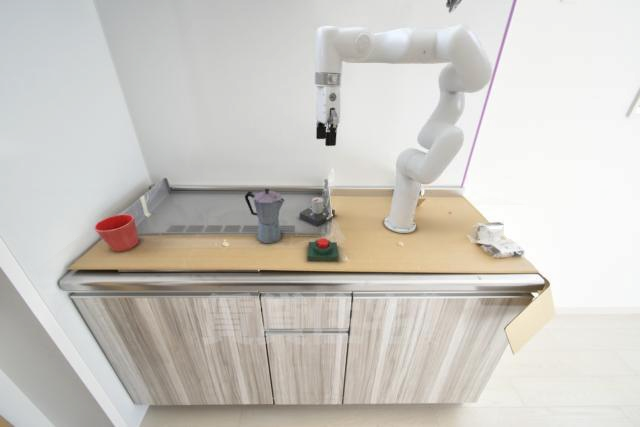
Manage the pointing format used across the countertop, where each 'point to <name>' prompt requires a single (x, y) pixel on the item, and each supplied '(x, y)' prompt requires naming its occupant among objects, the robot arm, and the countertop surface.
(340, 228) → the countertop surface
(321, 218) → the stove panel
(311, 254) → the button block
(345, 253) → the countertop surface
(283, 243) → the countertop surface
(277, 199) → the moka pot
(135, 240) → the flower pot
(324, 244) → the button
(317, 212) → the stove knob
